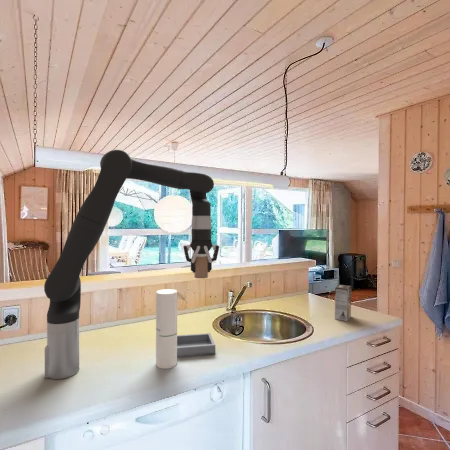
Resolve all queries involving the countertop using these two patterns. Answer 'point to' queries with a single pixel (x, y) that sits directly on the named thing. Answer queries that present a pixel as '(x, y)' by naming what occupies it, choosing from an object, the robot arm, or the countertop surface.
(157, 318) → the cylindrical container
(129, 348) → the countertop surface
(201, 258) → the shaker
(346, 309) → the coffee box
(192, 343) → the tray
